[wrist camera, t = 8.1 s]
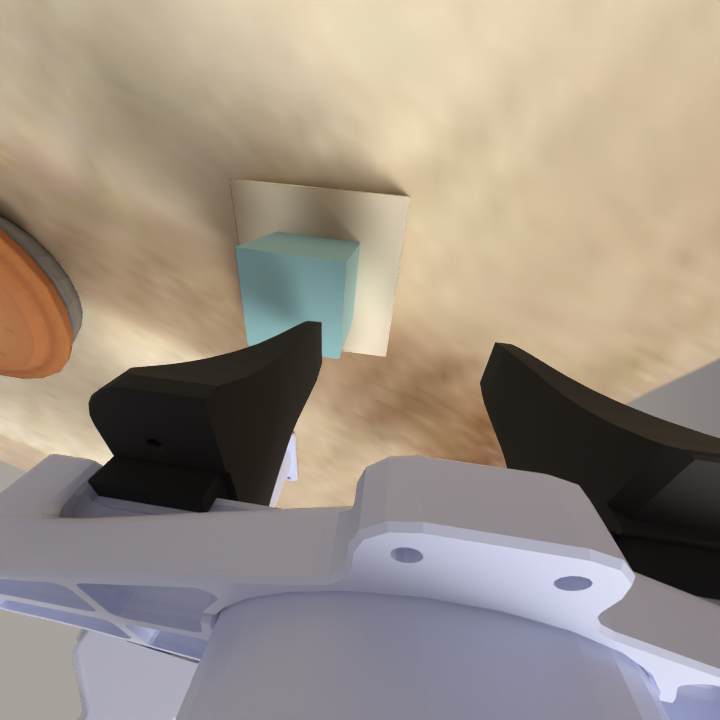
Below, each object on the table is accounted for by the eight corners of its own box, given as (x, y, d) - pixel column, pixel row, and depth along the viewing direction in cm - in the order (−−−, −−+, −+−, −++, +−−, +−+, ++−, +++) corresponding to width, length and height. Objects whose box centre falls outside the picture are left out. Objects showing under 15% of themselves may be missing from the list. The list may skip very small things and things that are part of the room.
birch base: (265, 324, 23) (252, 338, 21) (250, 180, 17) (229, 179, 15) (386, 340, 22) (385, 356, 20) (409, 196, 17) (410, 197, 15)
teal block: (281, 310, 19) (247, 344, 15) (277, 231, 16) (234, 246, 12) (352, 320, 19) (339, 359, 15) (360, 242, 16) (346, 262, 12)
